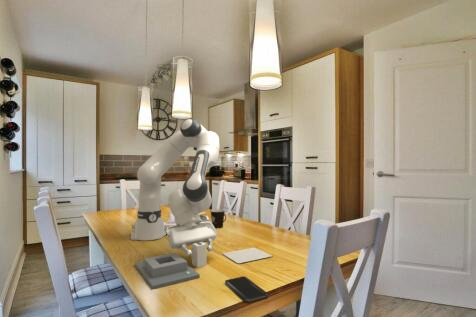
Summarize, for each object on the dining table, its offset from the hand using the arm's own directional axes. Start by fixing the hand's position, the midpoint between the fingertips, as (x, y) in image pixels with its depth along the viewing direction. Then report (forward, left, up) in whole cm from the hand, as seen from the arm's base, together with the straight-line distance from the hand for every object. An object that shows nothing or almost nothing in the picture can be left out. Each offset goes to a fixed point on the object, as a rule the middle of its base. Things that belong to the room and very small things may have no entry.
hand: (200, 252), depth 106 cm
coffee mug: (-51, +36, -5) cm, 62 cm away
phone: (+26, +3, -5) cm, 27 cm away
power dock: (-2, -13, -5) cm, 14 cm away
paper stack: (+5, +17, -5) cm, 18 cm away
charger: (-1, 0, -5) cm, 5 cm away
